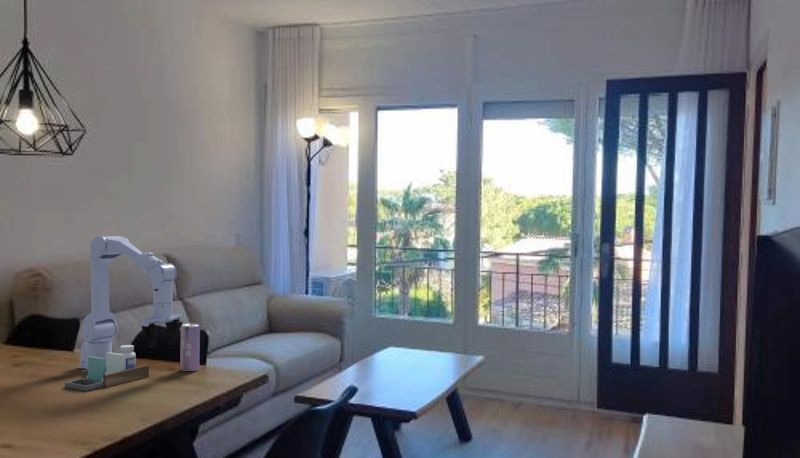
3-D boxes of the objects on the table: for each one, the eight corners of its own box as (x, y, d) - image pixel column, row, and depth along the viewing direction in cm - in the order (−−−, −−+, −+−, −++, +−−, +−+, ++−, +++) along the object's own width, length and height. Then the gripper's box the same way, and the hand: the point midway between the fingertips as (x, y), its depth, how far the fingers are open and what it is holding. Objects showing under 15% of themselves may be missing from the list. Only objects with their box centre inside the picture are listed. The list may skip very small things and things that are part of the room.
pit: (64, 387, 193) (64, 382, 193) (82, 383, 198) (82, 378, 198) (85, 391, 189) (86, 386, 189) (103, 387, 194) (103, 382, 194)
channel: (80, 382, 199) (80, 371, 199) (124, 372, 213) (124, 361, 213) (106, 387, 194) (106, 375, 194) (148, 376, 208) (149, 365, 208)
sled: (86, 382, 198) (86, 356, 198) (109, 376, 206) (109, 352, 205) (102, 385, 195) (103, 359, 195) (125, 379, 202) (125, 354, 202)
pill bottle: (112, 377, 206) (113, 346, 206) (127, 374, 211) (127, 343, 211) (124, 379, 203) (125, 348, 203) (139, 376, 208) (139, 345, 208)
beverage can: (202, 368, 220) (202, 323, 220) (194, 372, 215) (195, 326, 214) (184, 367, 221) (185, 323, 221) (177, 371, 215) (177, 325, 215)
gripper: (154, 306, 197) (153, 351, 197) (189, 301, 210) (188, 343, 210) (137, 304, 200) (136, 349, 200) (173, 299, 213) (172, 341, 213)
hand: (162, 346), depth 206 cm, fingers open, 7 cm apart
